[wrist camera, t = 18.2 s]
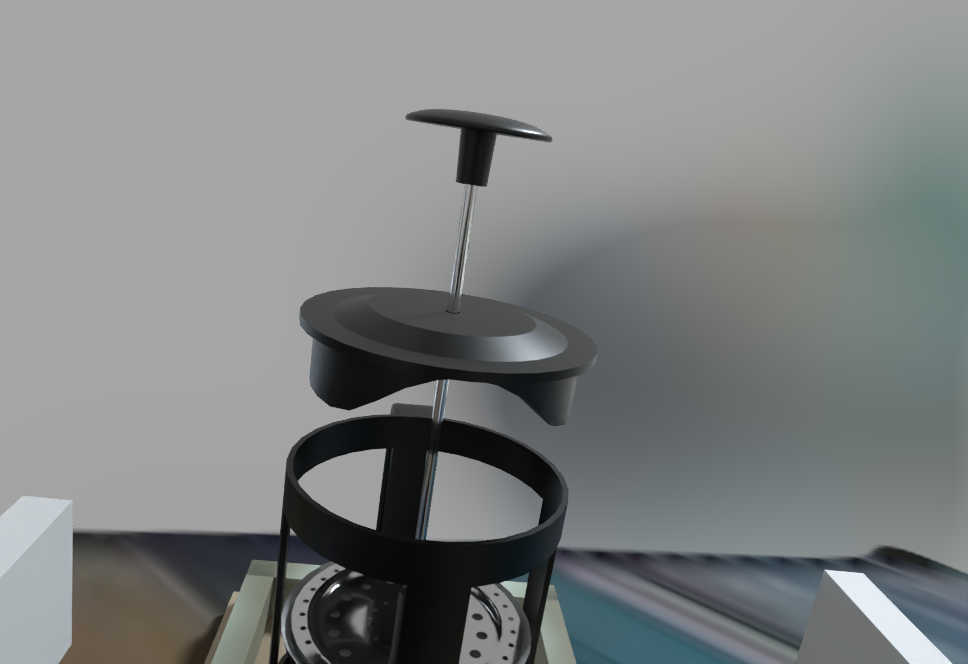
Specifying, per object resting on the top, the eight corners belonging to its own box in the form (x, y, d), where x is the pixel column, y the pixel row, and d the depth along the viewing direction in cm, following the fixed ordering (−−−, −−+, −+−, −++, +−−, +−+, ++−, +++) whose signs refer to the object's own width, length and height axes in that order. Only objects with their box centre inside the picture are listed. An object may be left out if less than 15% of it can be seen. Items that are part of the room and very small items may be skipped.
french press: (548, 914, 22) (723, 145, 16) (226, 934, 20) (295, 74, 15) (484, 649, 33) (575, 134, 28) (272, 646, 32) (322, 93, 26)
